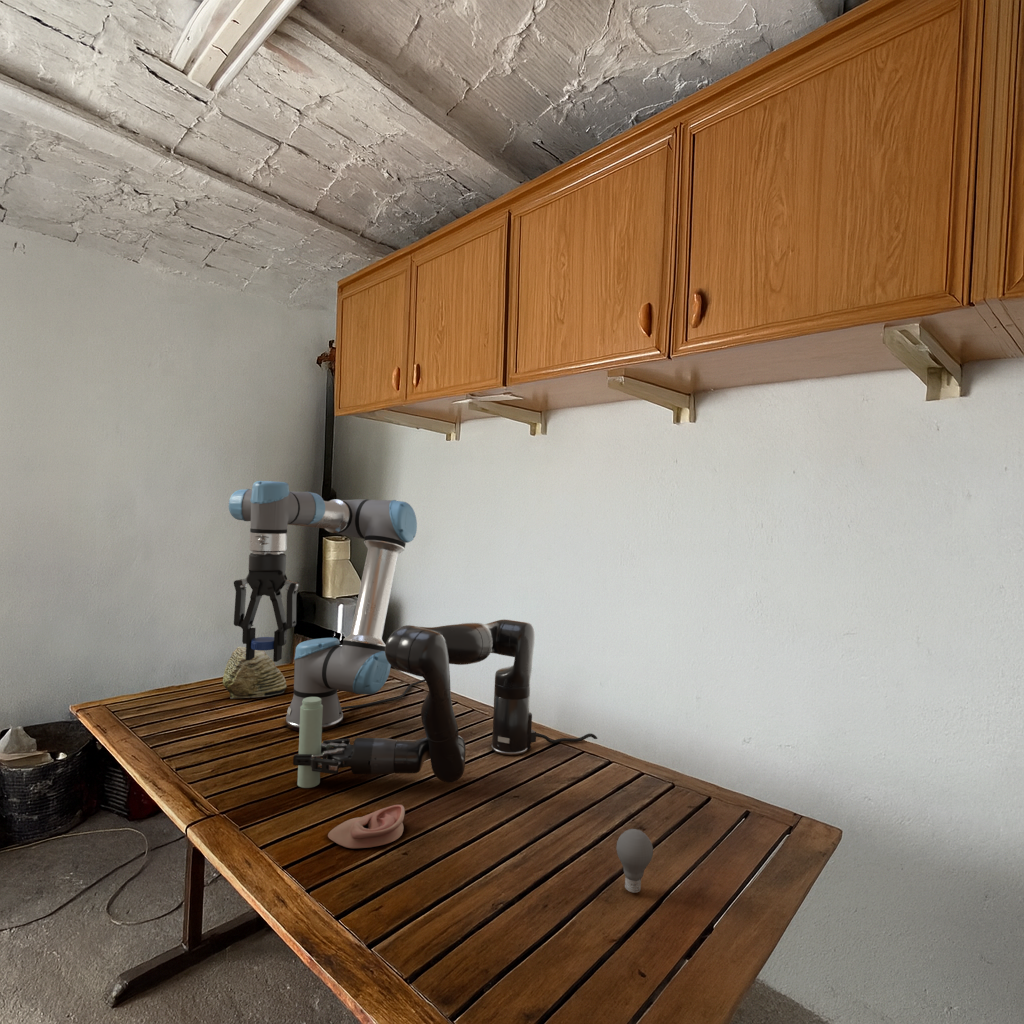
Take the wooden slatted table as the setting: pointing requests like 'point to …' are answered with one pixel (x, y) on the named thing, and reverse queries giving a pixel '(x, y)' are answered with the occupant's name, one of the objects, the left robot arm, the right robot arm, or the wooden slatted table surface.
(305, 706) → the jar
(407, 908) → the wooden slatted table surface
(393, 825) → the anatomical model
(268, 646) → the lid
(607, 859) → the wooden slatted table surface
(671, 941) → the wooden slatted table surface
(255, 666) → the fossil
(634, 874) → the light bulb
